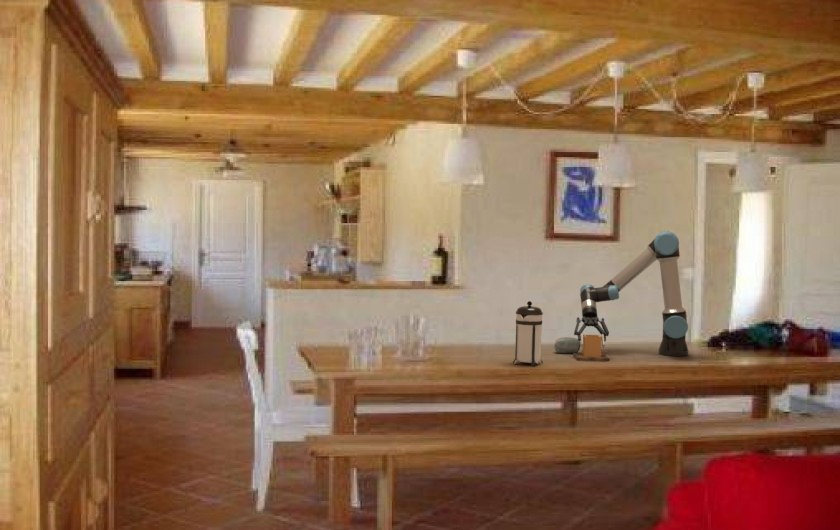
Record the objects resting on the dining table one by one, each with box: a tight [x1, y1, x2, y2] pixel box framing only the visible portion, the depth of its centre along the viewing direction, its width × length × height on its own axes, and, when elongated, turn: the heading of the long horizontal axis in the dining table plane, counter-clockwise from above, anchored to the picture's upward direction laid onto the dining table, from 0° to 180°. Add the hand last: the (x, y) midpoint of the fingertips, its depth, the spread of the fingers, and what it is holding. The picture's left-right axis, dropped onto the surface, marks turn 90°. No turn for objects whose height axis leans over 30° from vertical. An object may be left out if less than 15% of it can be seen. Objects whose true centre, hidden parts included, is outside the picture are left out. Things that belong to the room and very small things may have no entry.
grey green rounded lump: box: [553, 336, 581, 354], centre depth 465 cm, size 14×10×10 cm
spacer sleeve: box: [581, 334, 602, 357], centre depth 447 cm, size 8×8×10 cm
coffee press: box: [512, 300, 544, 367], centre depth 427 cm, size 17×16×30 cm
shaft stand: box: [573, 352, 611, 362], centre depth 447 cm, size 16×14×8 cm
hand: (592, 345), depth 444 cm, fingers open, 10 cm apart
